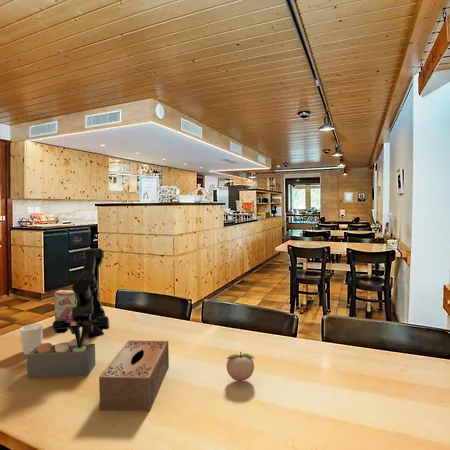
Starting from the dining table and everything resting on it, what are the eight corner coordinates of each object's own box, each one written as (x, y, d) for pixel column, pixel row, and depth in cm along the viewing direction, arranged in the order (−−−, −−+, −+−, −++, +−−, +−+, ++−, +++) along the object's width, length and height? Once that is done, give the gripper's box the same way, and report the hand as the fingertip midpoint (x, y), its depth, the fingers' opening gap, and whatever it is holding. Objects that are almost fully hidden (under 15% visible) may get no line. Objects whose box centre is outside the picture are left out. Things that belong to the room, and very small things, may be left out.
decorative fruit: (231, 390, 106) (230, 359, 106) (224, 377, 114) (223, 348, 113) (258, 386, 109) (258, 355, 108) (250, 373, 117) (250, 345, 116)
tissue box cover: (129, 367, 122) (128, 340, 122) (168, 368, 122) (168, 340, 121) (100, 411, 97) (99, 377, 96) (149, 412, 96) (149, 378, 95)
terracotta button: (41, 355, 121) (41, 343, 120) (54, 354, 121) (53, 342, 121) (35, 361, 116) (34, 348, 116) (48, 360, 116) (47, 347, 116)
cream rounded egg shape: (58, 354, 121) (58, 342, 121) (71, 354, 121) (70, 342, 121) (53, 360, 117) (52, 347, 116) (66, 360, 117) (65, 347, 116)
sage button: (76, 358, 121) (75, 345, 121) (88, 357, 122) (88, 345, 121) (71, 363, 117) (70, 351, 117) (84, 363, 117) (83, 350, 117)
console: (39, 366, 123) (38, 345, 122) (95, 364, 124) (94, 343, 123) (27, 377, 115) (26, 355, 114) (87, 376, 116) (87, 353, 115)
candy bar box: (54, 325, 164) (53, 292, 163) (60, 322, 169) (59, 289, 168) (76, 326, 163) (75, 292, 162) (82, 322, 168) (80, 290, 167)
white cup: (26, 357, 130) (25, 332, 129) (17, 352, 135) (16, 327, 134) (47, 350, 136) (46, 326, 136) (38, 345, 141) (37, 322, 140)
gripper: (52, 298, 121) (44, 340, 111) (107, 294, 125) (104, 335, 115) (59, 313, 129) (52, 353, 119) (110, 309, 133) (108, 348, 123)
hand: (79, 347), depth 119 cm, fingers closed
